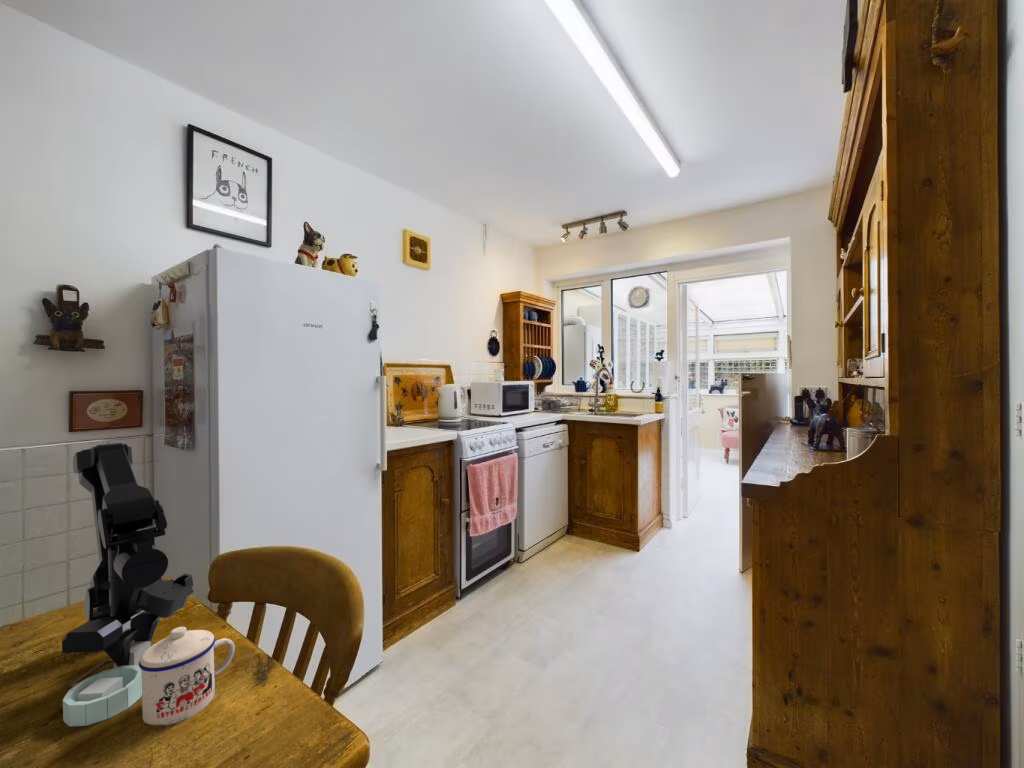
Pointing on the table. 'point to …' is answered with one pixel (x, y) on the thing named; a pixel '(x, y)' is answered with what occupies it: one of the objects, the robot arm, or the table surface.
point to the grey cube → (137, 651)
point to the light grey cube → (101, 688)
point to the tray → (89, 673)
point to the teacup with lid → (180, 675)
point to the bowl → (106, 705)
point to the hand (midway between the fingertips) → (133, 661)
